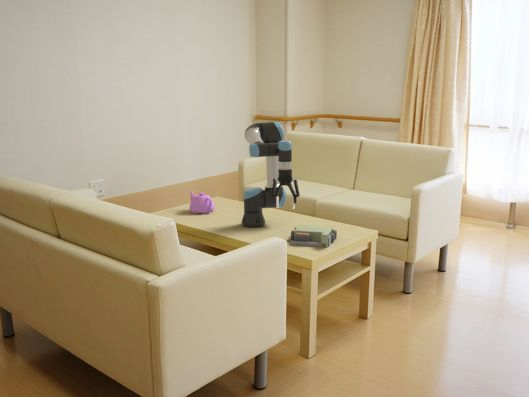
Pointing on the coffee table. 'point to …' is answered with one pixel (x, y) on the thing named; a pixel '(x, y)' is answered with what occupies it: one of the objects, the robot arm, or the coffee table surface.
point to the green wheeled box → (315, 235)
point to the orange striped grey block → (303, 237)
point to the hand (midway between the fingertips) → (285, 208)
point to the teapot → (201, 203)
